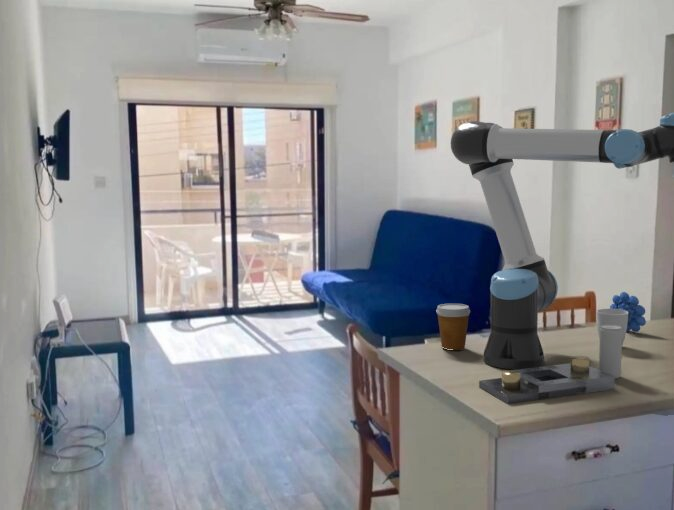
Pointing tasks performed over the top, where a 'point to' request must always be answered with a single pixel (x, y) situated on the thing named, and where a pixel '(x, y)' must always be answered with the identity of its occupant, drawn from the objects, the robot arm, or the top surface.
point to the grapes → (630, 310)
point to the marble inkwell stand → (549, 381)
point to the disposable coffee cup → (453, 325)
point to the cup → (612, 319)
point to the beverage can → (610, 349)
